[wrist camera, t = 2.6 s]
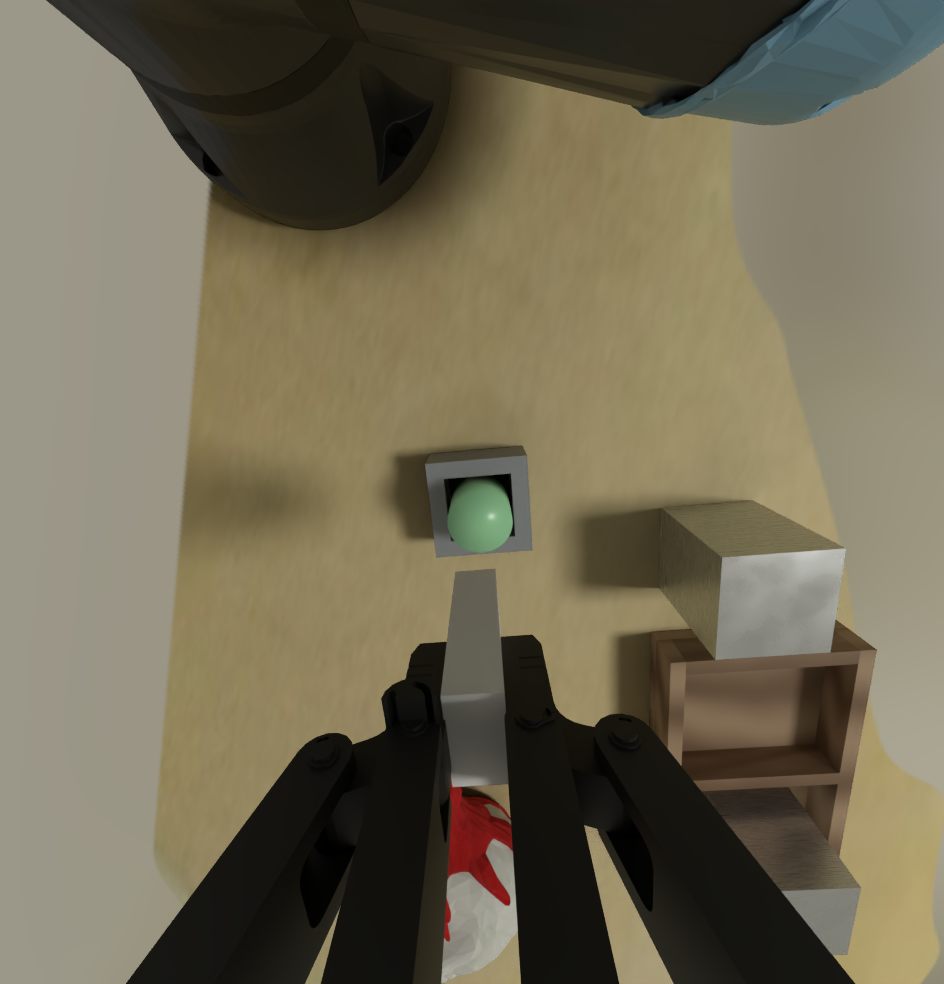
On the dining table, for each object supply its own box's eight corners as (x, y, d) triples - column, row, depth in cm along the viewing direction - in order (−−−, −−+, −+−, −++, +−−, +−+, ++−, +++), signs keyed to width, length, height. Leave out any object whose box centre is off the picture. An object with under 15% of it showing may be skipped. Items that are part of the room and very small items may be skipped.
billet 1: (661, 507, 30) (722, 557, 23) (752, 500, 30) (846, 548, 22) (659, 587, 32) (715, 659, 24) (745, 581, 32) (830, 652, 24)
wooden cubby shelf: (651, 632, 33) (670, 663, 30) (835, 619, 32) (876, 649, 29) (646, 845, 39) (662, 891, 35) (802, 838, 38) (834, 884, 35)
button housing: (430, 453, 30) (424, 464, 27) (522, 446, 29) (526, 455, 26) (440, 539, 31) (436, 557, 28) (527, 532, 31) (532, 550, 28)
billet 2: (698, 776, 35) (759, 892, 28) (777, 771, 35) (861, 887, 27) (695, 833, 37) (751, 958, 29) (770, 829, 37) (847, 954, 29)
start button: (448, 477, 28) (443, 494, 24) (506, 472, 28) (510, 488, 24) (454, 532, 29) (451, 554, 26) (510, 527, 29) (514, 550, 25)
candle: (433, 899, 40) (371, 756, 38) (554, 871, 39) (497, 721, 37) (413, 1036, 31) (332, 859, 29) (569, 1006, 30) (495, 818, 28)
